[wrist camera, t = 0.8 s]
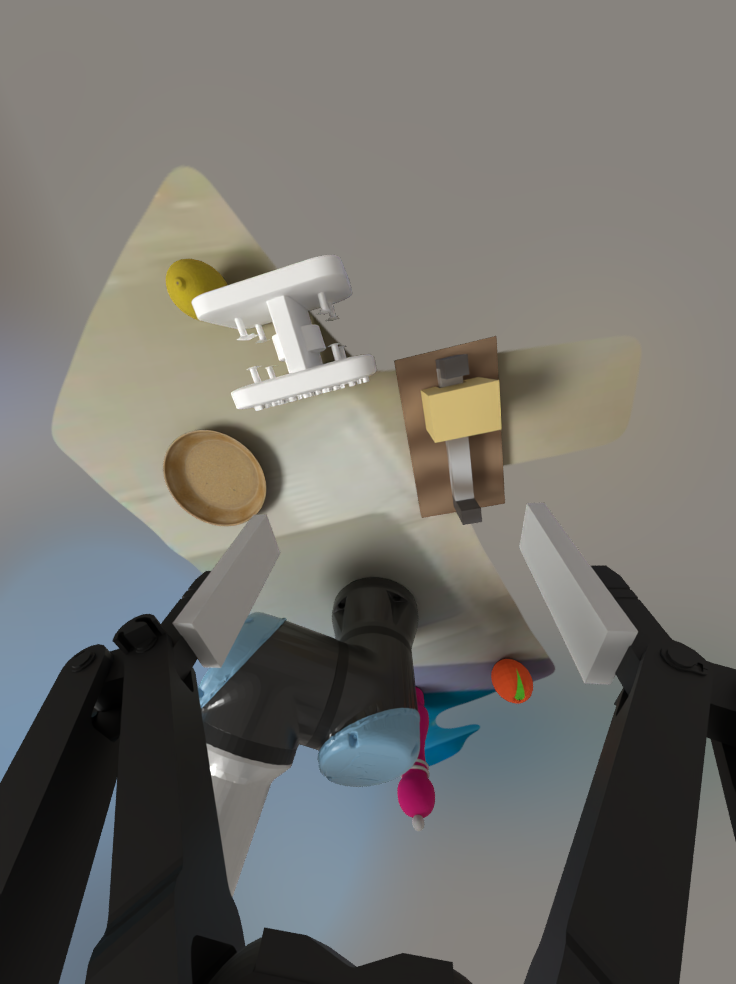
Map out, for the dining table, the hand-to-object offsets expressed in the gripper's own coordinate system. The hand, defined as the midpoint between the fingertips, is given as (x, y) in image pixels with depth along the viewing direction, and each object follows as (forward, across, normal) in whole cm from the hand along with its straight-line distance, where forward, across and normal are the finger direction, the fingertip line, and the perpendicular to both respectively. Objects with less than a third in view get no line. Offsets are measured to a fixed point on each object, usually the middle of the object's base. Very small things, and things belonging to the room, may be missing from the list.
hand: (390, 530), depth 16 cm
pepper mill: (+21, +2, +60) cm, 63 cm away
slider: (+27, -6, +1) cm, 27 cm away
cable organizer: (+28, +11, -7) cm, 31 cm away
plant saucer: (+25, +27, +8) cm, 38 cm away
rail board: (+28, -7, +6) cm, 29 cm away
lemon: (+28, +21, -14) cm, 38 cm away
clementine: (+23, -17, +51) cm, 58 cm away
